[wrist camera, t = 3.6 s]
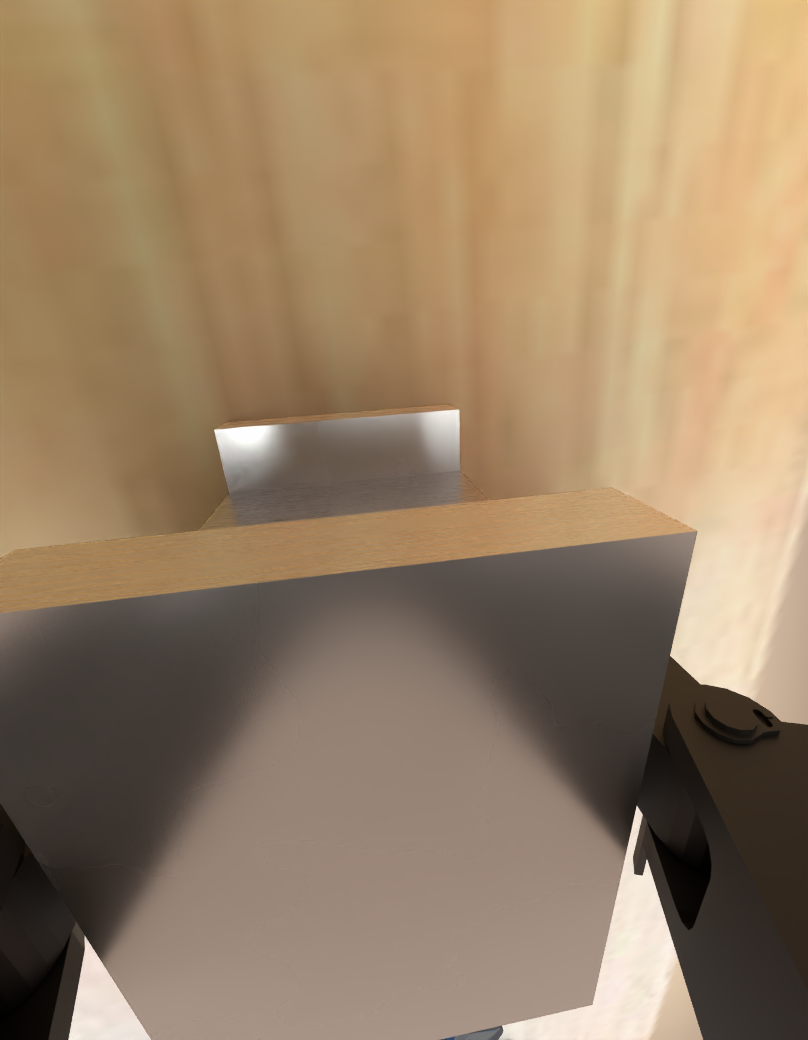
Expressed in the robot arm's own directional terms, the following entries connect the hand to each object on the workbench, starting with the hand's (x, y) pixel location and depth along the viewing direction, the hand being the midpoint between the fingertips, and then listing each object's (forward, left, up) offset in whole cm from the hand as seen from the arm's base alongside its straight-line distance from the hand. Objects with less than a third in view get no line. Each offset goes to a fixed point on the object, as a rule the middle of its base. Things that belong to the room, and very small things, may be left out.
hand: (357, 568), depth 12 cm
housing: (0, 0, -2) cm, 2 cm away
